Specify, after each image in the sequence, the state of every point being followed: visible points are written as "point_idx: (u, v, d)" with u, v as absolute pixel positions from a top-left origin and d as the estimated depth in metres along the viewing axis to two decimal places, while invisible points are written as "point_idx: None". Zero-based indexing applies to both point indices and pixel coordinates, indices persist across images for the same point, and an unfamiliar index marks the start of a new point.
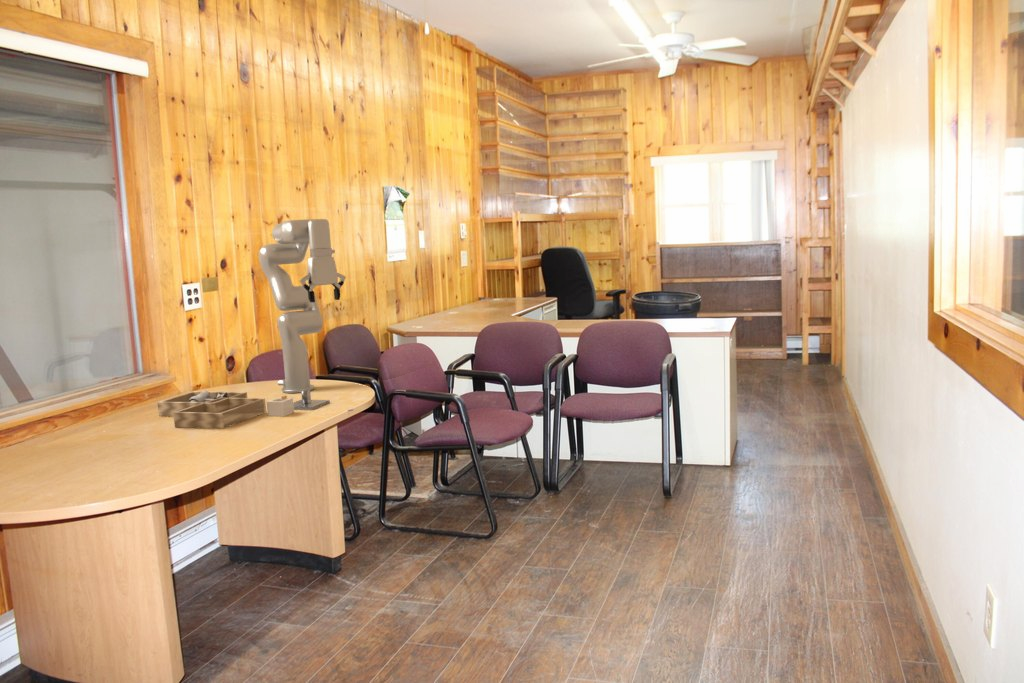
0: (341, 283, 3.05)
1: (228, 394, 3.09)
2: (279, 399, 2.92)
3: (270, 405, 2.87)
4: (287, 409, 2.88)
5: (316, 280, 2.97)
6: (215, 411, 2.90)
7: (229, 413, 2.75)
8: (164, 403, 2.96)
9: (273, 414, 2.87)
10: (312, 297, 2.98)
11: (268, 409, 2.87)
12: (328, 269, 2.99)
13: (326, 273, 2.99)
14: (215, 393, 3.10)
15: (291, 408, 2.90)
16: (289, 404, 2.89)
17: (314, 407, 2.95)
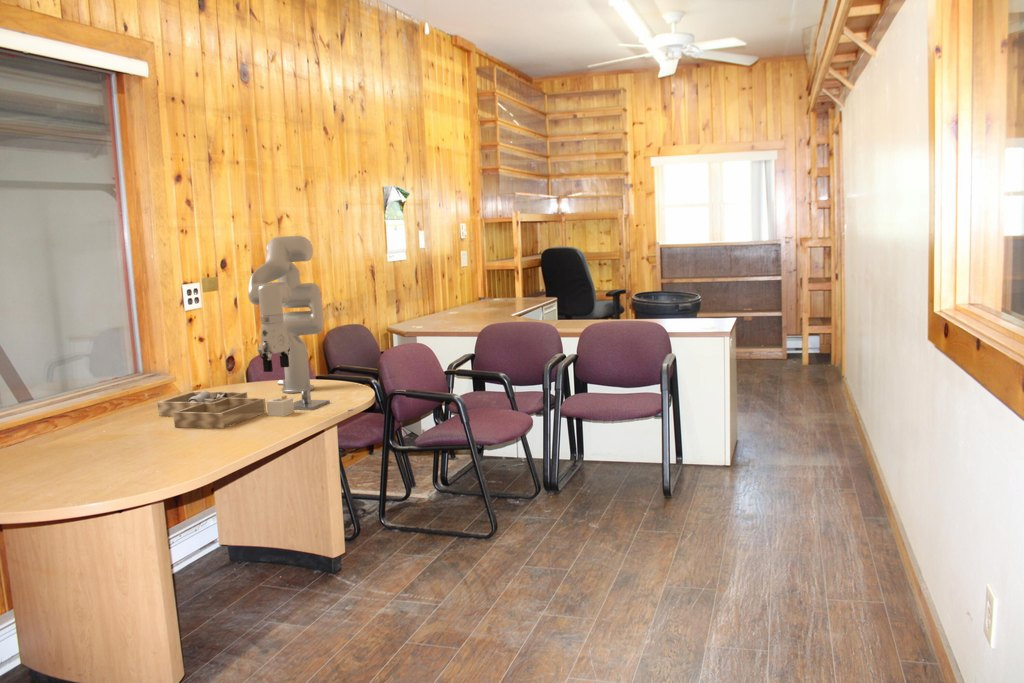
0: None
1: (228, 394, 3.09)
2: (279, 399, 2.92)
3: (270, 405, 2.87)
4: (287, 409, 2.88)
5: None
6: (215, 411, 2.90)
7: (229, 413, 2.75)
8: (164, 403, 2.96)
9: (273, 414, 2.87)
10: None
11: (268, 409, 2.87)
12: None
13: None
14: (215, 393, 3.10)
15: (291, 408, 2.90)
16: (289, 404, 2.89)
17: (314, 407, 2.95)
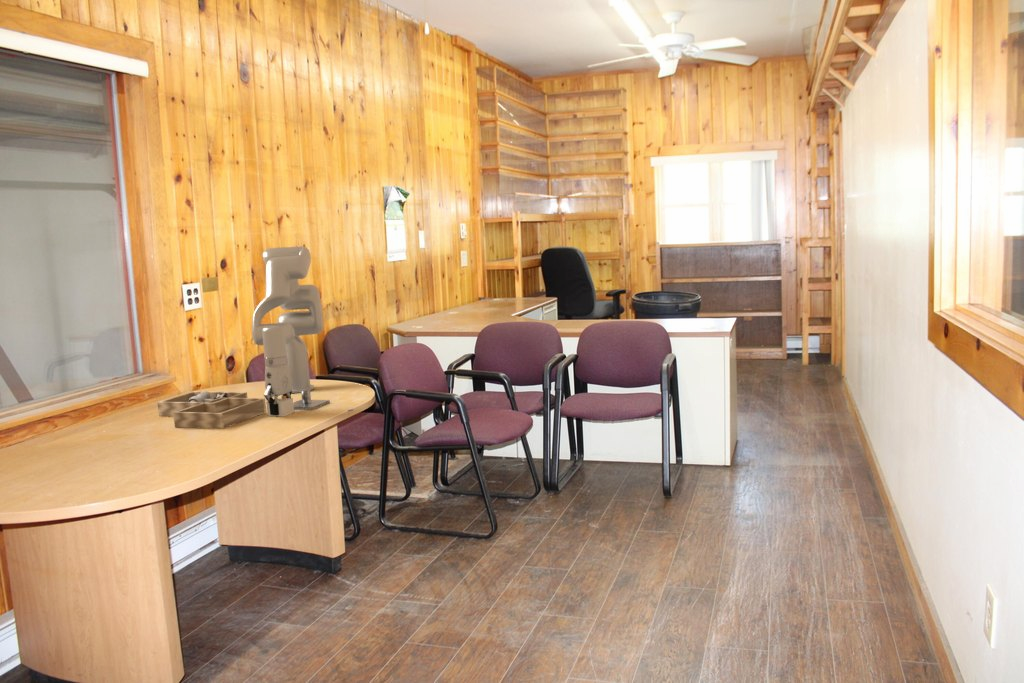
0: None
1: (228, 394, 3.09)
2: (279, 399, 2.92)
3: None
4: (287, 409, 2.88)
5: None
6: (215, 411, 2.90)
7: (229, 413, 2.75)
8: (164, 403, 2.96)
9: None
10: None
11: (268, 409, 2.87)
12: None
13: None
14: (215, 393, 3.10)
15: (291, 408, 2.90)
16: (289, 404, 2.89)
17: (314, 407, 2.95)
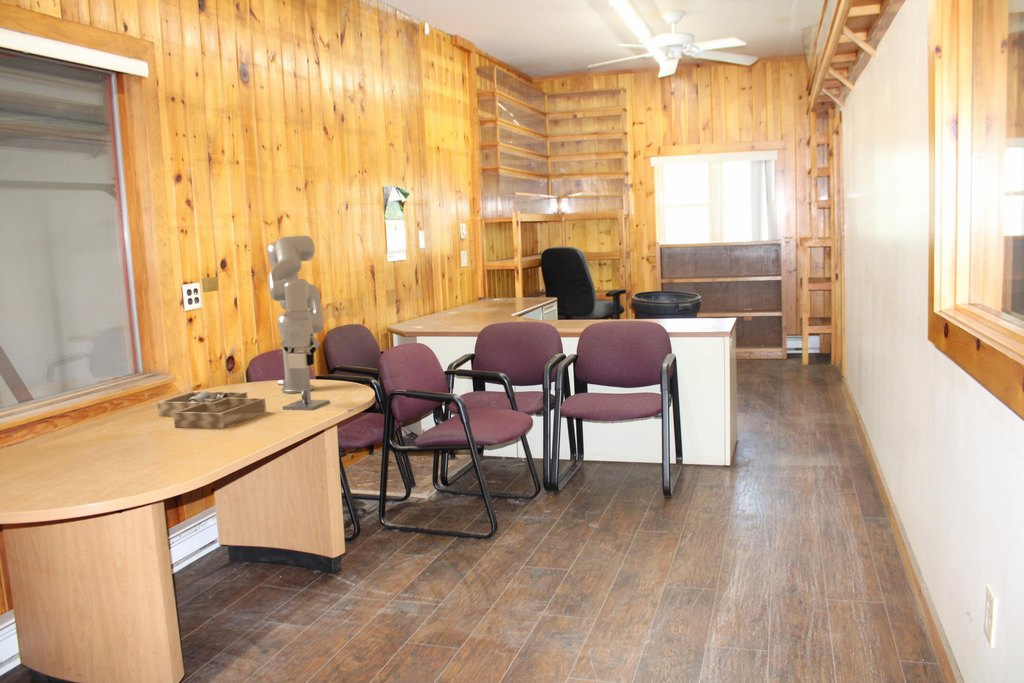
0: None
1: (228, 394, 3.09)
2: None
3: None
4: (295, 363, 2.96)
5: None
6: (215, 411, 2.90)
7: (229, 413, 2.75)
8: (164, 403, 2.96)
9: None
10: None
11: None
12: None
13: None
14: (215, 393, 3.10)
15: (301, 363, 2.95)
16: (298, 359, 2.95)
17: (314, 407, 2.95)
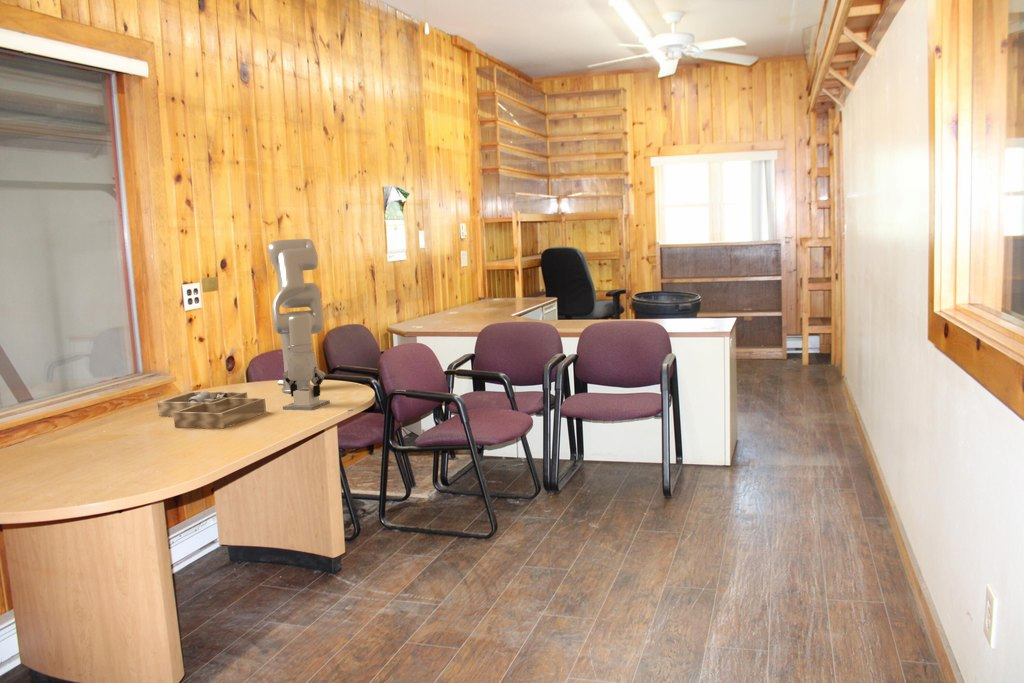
0: None
1: (228, 394, 3.09)
2: None
3: None
4: (300, 400, 2.98)
5: None
6: (215, 411, 2.90)
7: (229, 413, 2.75)
8: (164, 403, 2.96)
9: None
10: None
11: None
12: None
13: None
14: (215, 393, 3.10)
15: (306, 400, 2.97)
16: (303, 396, 2.97)
17: (314, 407, 2.95)
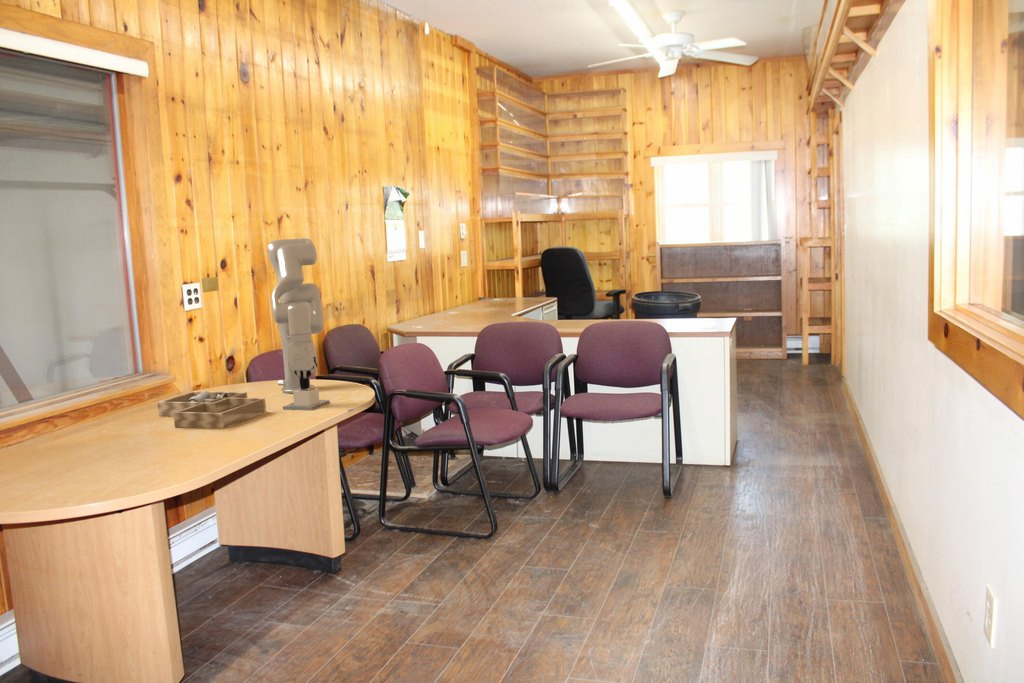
0: None
1: (228, 394, 3.09)
2: None
3: None
4: (300, 400, 2.98)
5: None
6: (215, 411, 2.90)
7: (229, 413, 2.75)
8: (164, 403, 2.96)
9: None
10: None
11: None
12: None
13: None
14: (215, 393, 3.10)
15: (306, 400, 2.97)
16: (303, 396, 2.97)
17: (314, 407, 2.95)
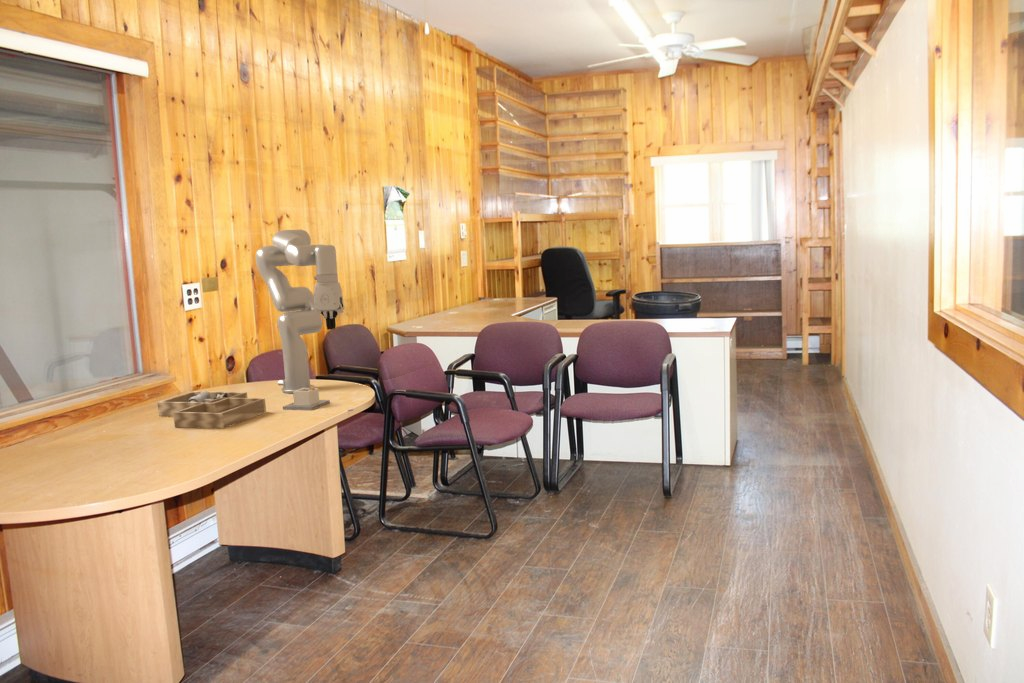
0: None
1: (228, 394, 3.09)
2: None
3: None
4: (300, 400, 2.98)
5: None
6: (215, 411, 2.90)
7: (229, 413, 2.75)
8: (164, 403, 2.96)
9: None
10: None
11: None
12: None
13: None
14: (215, 393, 3.10)
15: (306, 400, 2.97)
16: (303, 396, 2.97)
17: (314, 407, 2.95)
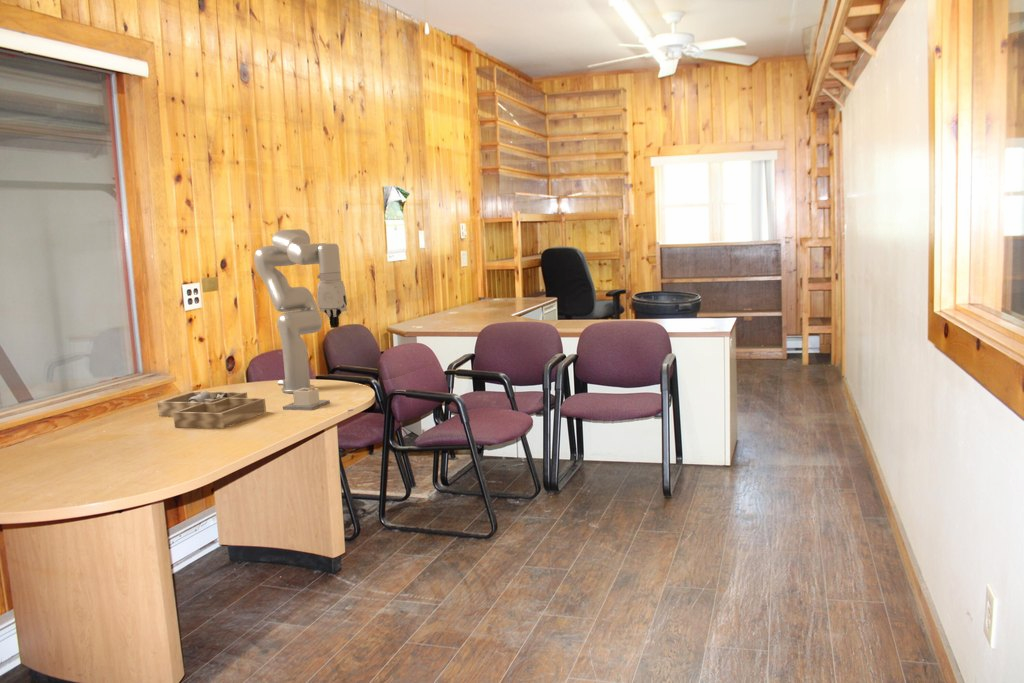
0: None
1: (228, 394, 3.09)
2: None
3: None
4: (300, 400, 2.98)
5: None
6: (215, 411, 2.90)
7: (229, 413, 2.75)
8: (164, 403, 2.96)
9: None
10: None
11: None
12: None
13: None
14: (215, 393, 3.10)
15: (306, 400, 2.97)
16: (303, 396, 2.97)
17: (314, 407, 2.95)
